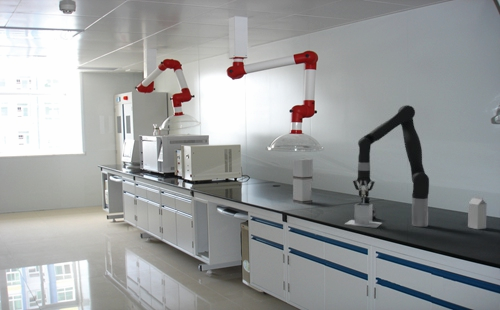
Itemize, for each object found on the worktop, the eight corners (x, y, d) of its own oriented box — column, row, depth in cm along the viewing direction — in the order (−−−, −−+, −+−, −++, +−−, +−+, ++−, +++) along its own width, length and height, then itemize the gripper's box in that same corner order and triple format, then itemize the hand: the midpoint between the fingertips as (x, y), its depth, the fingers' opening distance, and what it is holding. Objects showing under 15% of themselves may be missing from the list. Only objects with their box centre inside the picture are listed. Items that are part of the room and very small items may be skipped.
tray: (381, 223, 306) (381, 222, 306) (376, 227, 293) (376, 226, 293) (350, 220, 315) (350, 219, 315) (344, 224, 303) (344, 223, 303)
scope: (376, 198, 320) (363, 199, 317) (376, 219, 321) (362, 219, 318) (370, 196, 328) (357, 197, 325) (370, 216, 329) (357, 217, 326)
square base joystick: (372, 222, 306) (372, 203, 305) (368, 225, 298) (368, 206, 297) (358, 221, 310) (358, 202, 310) (354, 223, 302) (354, 204, 302)
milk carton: (477, 229, 287) (478, 198, 286) (467, 227, 294) (468, 196, 293) (486, 228, 290) (487, 197, 289) (476, 226, 297) (477, 195, 296)
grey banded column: (312, 202, 389) (312, 159, 387) (302, 203, 383) (302, 159, 381) (303, 200, 398) (303, 158, 396) (293, 201, 392) (293, 159, 390)
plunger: (370, 215, 306) (371, 189, 304) (367, 217, 299) (368, 190, 298) (359, 214, 309) (359, 188, 308) (356, 216, 302) (356, 190, 301)
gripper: (376, 169, 302) (376, 196, 303) (354, 168, 309) (354, 195, 310) (373, 170, 296) (373, 198, 297) (351, 169, 302) (350, 196, 303)
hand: (363, 196), depth 303 cm, fingers closed on plunger, 3 cm apart
